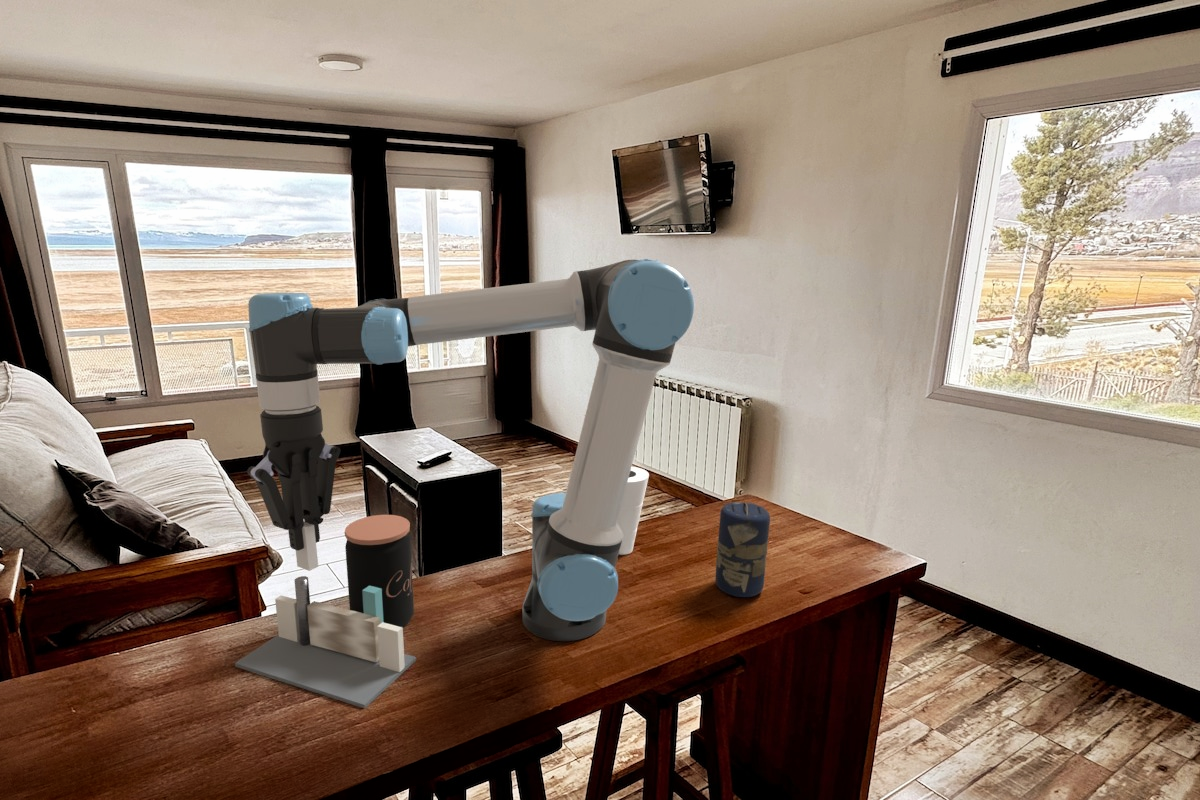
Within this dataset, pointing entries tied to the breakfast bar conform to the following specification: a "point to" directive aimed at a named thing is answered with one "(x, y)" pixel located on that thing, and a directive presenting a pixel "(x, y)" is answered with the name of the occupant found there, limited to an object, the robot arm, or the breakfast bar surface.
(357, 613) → the gate
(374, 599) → the bar
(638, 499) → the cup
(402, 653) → the fence
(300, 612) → the hinge post
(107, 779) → the breakfast bar surface
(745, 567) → the canister
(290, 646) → the mat
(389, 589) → the coffee jar
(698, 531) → the breakfast bar surface
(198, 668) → the breakfast bar surface
